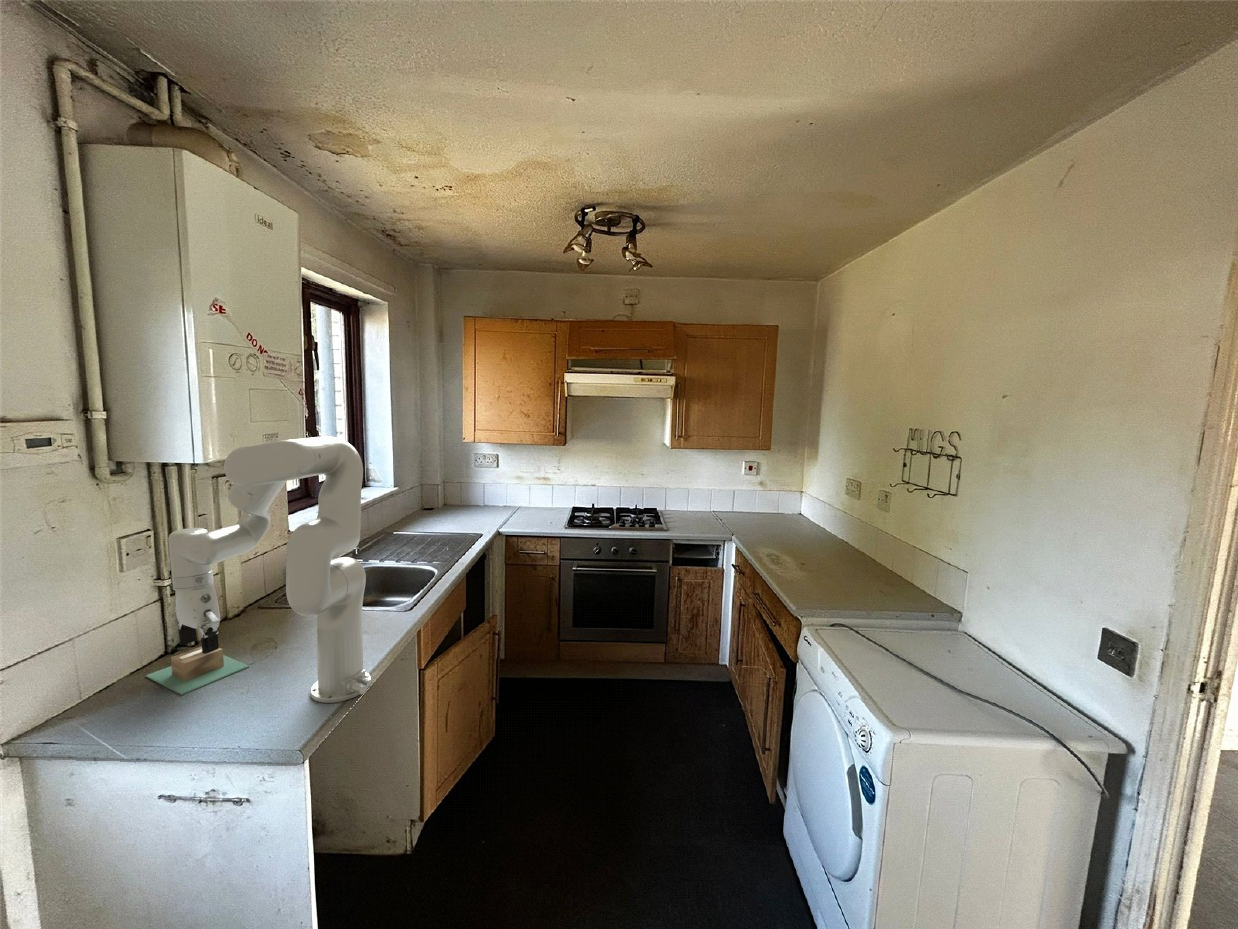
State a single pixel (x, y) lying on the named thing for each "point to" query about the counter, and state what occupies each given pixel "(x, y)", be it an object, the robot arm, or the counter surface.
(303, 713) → the counter surface
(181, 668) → the cardboard box
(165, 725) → the counter surface
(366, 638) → the counter surface
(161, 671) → the play mat
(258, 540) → the robot arm
